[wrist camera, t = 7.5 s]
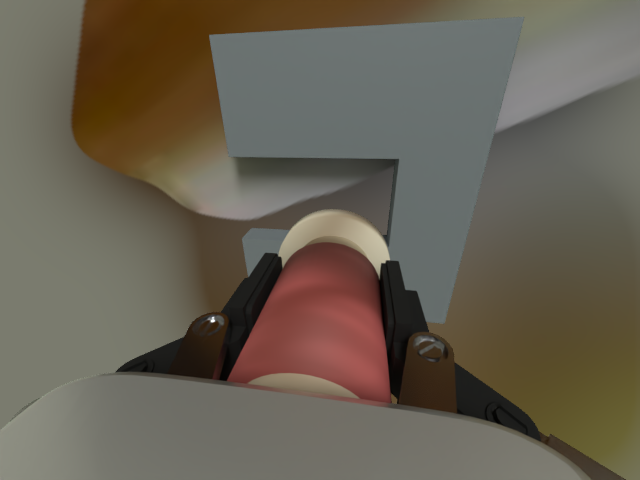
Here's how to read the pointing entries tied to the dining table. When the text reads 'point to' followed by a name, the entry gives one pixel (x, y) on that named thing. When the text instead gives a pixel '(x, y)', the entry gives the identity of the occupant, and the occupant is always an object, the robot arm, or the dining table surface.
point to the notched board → (378, 123)
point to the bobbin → (323, 313)
